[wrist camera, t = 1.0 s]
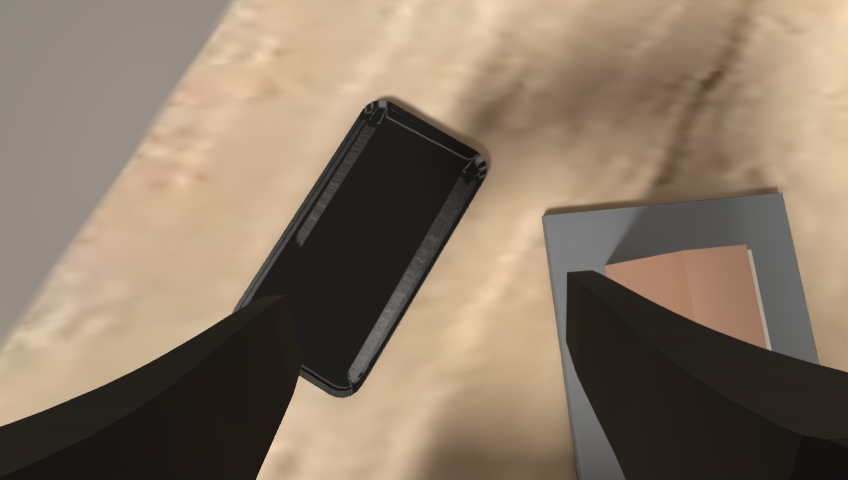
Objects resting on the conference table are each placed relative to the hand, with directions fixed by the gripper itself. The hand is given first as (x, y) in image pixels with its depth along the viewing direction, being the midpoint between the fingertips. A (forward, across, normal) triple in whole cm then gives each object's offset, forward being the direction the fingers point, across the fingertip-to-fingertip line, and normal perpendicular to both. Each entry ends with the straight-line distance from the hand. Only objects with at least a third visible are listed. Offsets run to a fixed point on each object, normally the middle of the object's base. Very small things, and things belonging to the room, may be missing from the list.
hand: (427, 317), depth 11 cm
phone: (+13, +4, +3) cm, 14 cm away
